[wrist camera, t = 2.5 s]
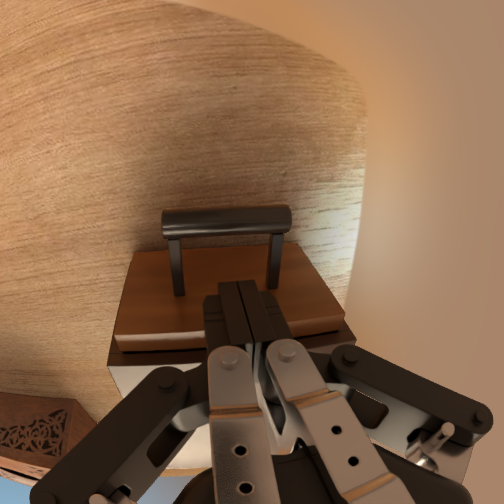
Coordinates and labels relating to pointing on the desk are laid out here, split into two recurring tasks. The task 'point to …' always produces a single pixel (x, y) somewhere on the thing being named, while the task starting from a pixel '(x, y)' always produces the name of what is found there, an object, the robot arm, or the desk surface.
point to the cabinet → (140, 365)
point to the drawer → (219, 278)
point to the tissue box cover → (38, 434)
